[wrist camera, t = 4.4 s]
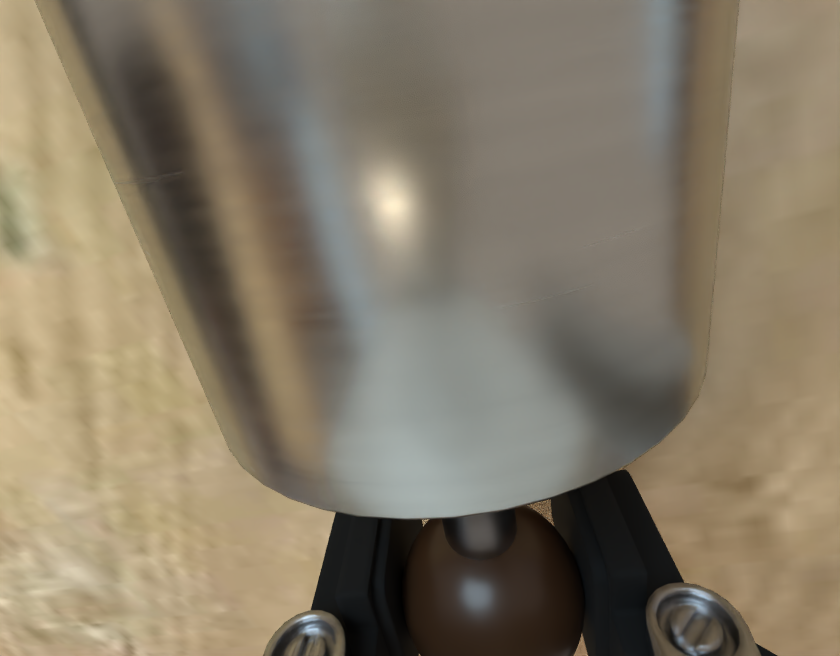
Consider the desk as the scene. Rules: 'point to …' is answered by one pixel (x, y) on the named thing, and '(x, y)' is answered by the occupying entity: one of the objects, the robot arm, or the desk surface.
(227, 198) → the knobbed metal cylinder
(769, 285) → the desk surface
